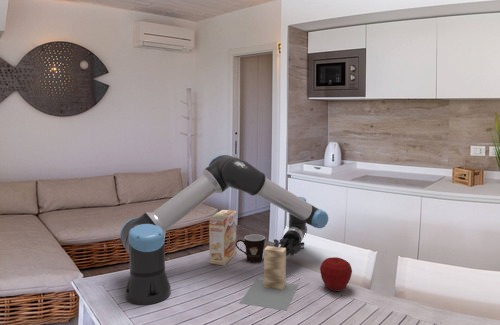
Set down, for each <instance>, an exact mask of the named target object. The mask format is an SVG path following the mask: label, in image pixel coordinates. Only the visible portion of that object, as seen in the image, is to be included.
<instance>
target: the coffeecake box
mask: <svg viewBox="0 0 500 325" xmlns="http://www.w3.org/2000/svg"><path fill="white" fill-rule="evenodd" d="M208 220H209V221H208V222H209V227H208V228H209V232H208V233H209V238H208V239H209V264H213V265H219V266H226V264H228V263H229V261H230V260H232V258H233V257H234V256H236V254H237V247H236V242H237V210H230V209H222V210H220V211H218V212H217V213H214V214H213V215H212V216H210V217H208Z"/></svg>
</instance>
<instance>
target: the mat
mask: <svg viewBox="0 0 500 325" xmlns="http://www.w3.org/2000/svg"><path fill="white" fill-rule="evenodd" d="M299 286H300V284H296V283H290V282H288V283H287V282H286V285H285V287H284V289H283V290H279V289H272V288H265V287H264V279H259V278H256V279H255V281H254V282H253V283H252V285H251V286H250V287H249V289H248V290H247V291H246V293H245V295H243V297H242V298H241V300H240V301H239V302H238V304H240V305H241V304H242V305H248V306H255V307H261V308H266V309H267V308H268V309H272V310H279V311H288V308H289V307H290V305H291V302H293V298H294V296H295V294H296V293H297V292H296V291H297V290H298V288H299Z"/></svg>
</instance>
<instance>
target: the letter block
mask: <svg viewBox="0 0 500 325" xmlns="http://www.w3.org/2000/svg"><path fill="white" fill-rule="evenodd" d="M286 264H287V257H286V248H282V247H280V246H278V247H275V246H269V245H267V246H265V247H264V250H263V280H264V287H265V288H272V289H279V290H283V289H284V287H285V285H286V283H287V282H286V280H287V279H286V278H287V277H286V275H287V274H286V273H287V269H286V268H287V265H286Z"/></svg>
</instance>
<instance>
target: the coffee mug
mask: <svg viewBox="0 0 500 325" xmlns="http://www.w3.org/2000/svg"><path fill="white" fill-rule="evenodd" d="M243 238H244V240H243V239H238V240H236V249H238V250H239V251H240V252H242V253H244V255H245V256H246V261H247V262H249V263H255V264H256V263H259V264H260V263H262V262H263V259H264V249H265V241H266V236H264V235H262V234H248V235H245V236H244V237H243ZM239 242H242V243H243V245H244V246H245V251H244V250H243V249H241V248H240V247H239V245H238V243H239Z"/></svg>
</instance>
